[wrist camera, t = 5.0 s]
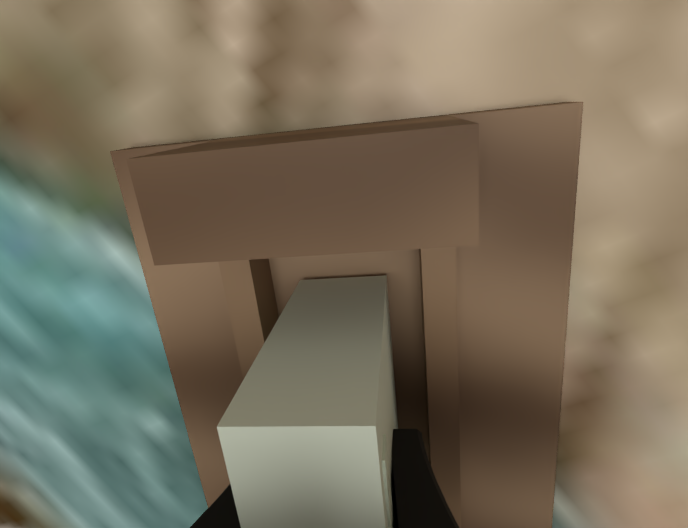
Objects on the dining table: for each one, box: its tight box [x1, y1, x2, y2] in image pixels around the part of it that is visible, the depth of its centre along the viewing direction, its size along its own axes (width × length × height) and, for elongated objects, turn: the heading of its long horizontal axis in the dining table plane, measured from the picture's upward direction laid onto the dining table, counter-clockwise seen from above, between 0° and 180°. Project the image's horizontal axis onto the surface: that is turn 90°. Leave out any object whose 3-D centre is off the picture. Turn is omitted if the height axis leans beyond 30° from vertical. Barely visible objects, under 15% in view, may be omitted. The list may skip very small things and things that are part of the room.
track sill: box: [110, 102, 583, 528], centre depth 12 cm, size 16×12×5 cm
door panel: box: [217, 275, 398, 528], centre depth 11 cm, size 8×2×6 cm, turn 6°
